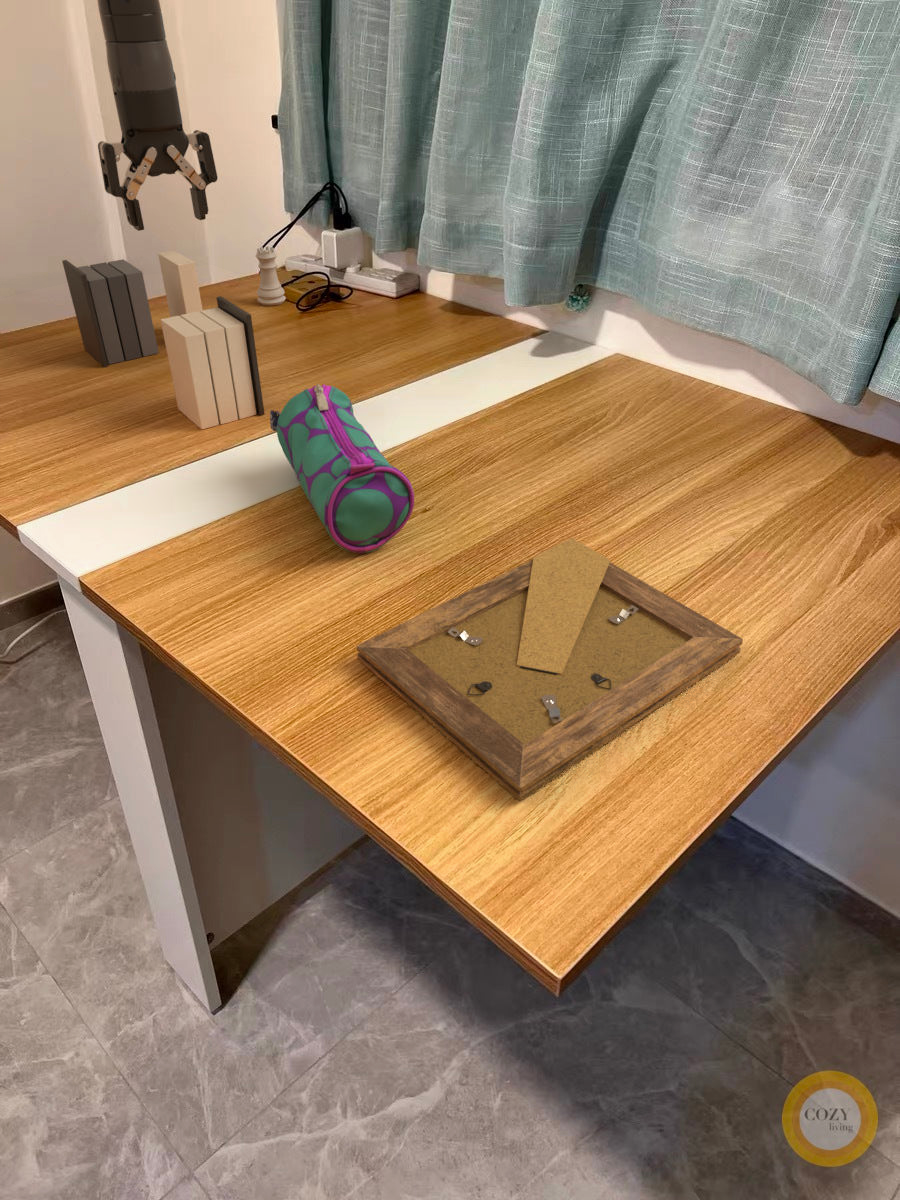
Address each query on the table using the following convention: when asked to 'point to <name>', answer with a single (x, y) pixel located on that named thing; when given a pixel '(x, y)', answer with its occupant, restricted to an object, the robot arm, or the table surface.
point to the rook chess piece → (269, 279)
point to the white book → (180, 283)
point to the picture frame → (546, 662)
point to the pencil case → (342, 470)
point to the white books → (214, 364)
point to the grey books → (112, 311)
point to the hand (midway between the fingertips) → (170, 224)
